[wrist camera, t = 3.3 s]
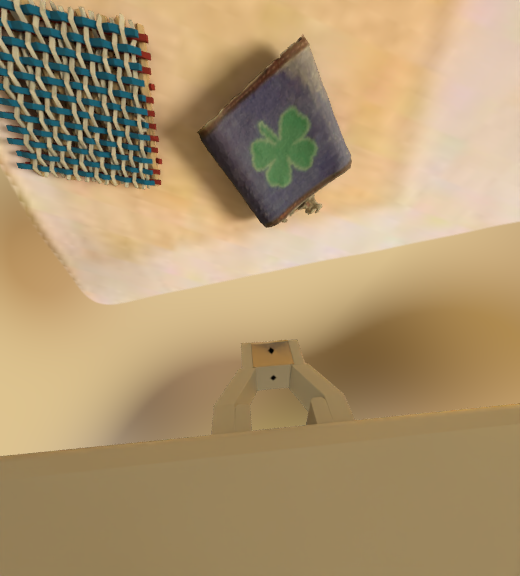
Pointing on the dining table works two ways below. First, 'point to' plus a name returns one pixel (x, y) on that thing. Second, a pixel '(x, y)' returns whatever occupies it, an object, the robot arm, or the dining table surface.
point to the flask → (279, 138)
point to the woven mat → (79, 93)
